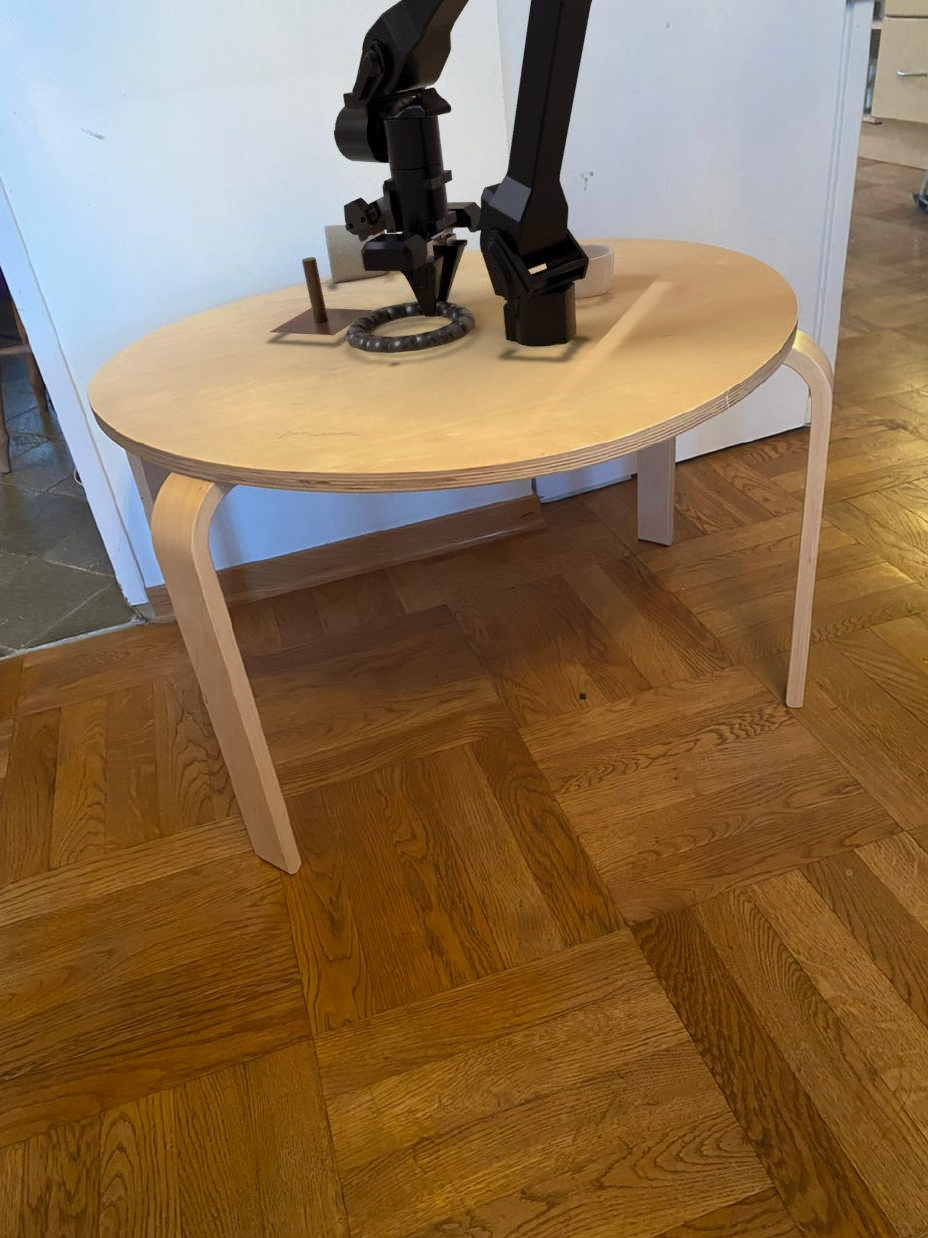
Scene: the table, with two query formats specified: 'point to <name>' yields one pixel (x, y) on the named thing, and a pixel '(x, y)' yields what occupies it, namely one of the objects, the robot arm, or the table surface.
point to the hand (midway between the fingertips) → (435, 313)
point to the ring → (386, 344)
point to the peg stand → (318, 310)
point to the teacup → (596, 270)
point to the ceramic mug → (346, 254)
